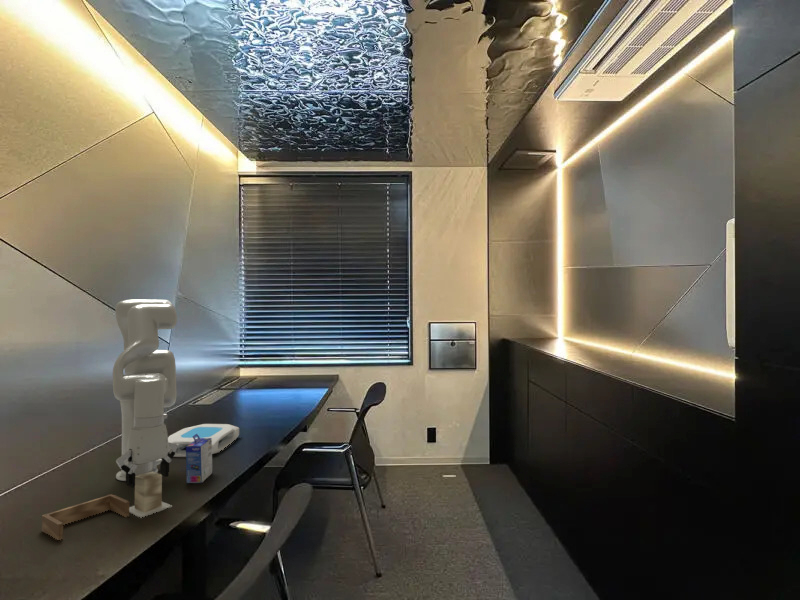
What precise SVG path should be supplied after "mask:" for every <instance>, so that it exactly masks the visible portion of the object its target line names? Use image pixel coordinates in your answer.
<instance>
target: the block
mask: <svg viewBox="0 0 800 600" xmlns="http://www.w3.org/2000/svg"><path fill="white" fill-rule="evenodd" d="M162 483H163V476H162V474H160V472H158V473H156V472H153V471H152V472H148V473H145V474H141V475H138V476H135V487H134V505H135V509H137V510H140V511H142V512H147V511H150V510H152V509H155V508H158V507H161V506H162V502H163V501H162V500H163V499H162V498H163V495H162V494H163V492H162V491H163V488H162V487H163V484H162Z"/></svg>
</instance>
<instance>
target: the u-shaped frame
mask: <svg viewBox="0 0 800 600" xmlns="http://www.w3.org/2000/svg"><path fill="white" fill-rule="evenodd" d="M129 507H130V501H129V500H128V499H124V498H122V497H121V496H118V495H115V494H113V493H111V494H107V495H105V496H101V497H99V498H98V497H97V498H94V499H91V500H89V501H85V502H80V503H78V504H75V505H72V506H68V507H65V508H62V509H58V510H56V511H55V510H54V511H52V512H49V513H45V514H42V515H41V532H43V533H44V534H45V535H47V534H48V535H47V536H49V535H50V536H49V537H51V536H52V537H53V539H54V538H55V539H54V540H56V539H57V540H60V541H62V540H61V539H63V540H64V526H66V525H65V524H67V525H69V524H68V523H70V524H72V523H71V522H73V523H75V522H74V521H76V522H79V521H81V519H82V520H85V519H87V517H88V518H90V517H89V516H91V517H93V515H94V516H97V515H100V514H103V513H105V511H106V512H108V510H109V511H110V510H111V512H113V511H114V512H113V513H115V512H116V514H117V513H118V514H117V515H119V514H120V515H119V516H121V515H122V516H121V517H123V516H124V518H128V517H130V513H129ZM102 512H103V513H102ZM99 513H100V514H99ZM96 514H97V515H96ZM127 516H128V517H127ZM84 518H85V519H84ZM78 520H79V521H78ZM63 525H64V526H63ZM52 537H51V538H52ZM57 540H56V541H57Z"/></svg>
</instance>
